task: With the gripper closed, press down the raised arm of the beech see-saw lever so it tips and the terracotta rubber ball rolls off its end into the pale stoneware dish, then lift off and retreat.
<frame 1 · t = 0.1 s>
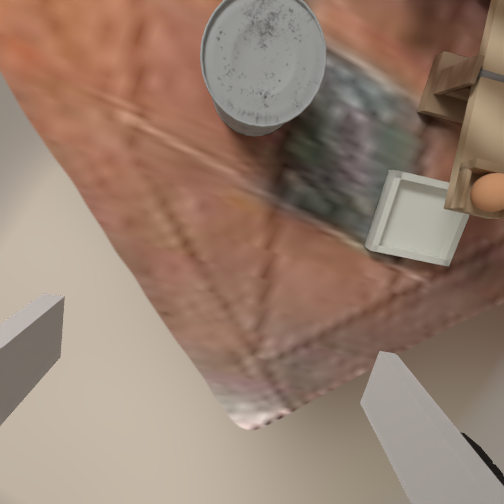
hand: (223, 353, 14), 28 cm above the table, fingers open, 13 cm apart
grey metal can: (254, 91, 37), on the table
fulcrum: (459, 93, 37), on the table
dish: (415, 217, 41), on the table
ball: (493, 192, 30), point 11 cm above the table, touching lever
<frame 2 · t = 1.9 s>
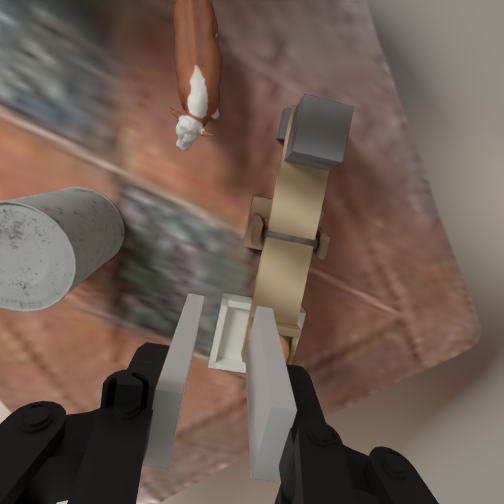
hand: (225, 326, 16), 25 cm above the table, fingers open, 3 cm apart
grey metal can: (83, 227, 39), on the table
bull figurine: (202, 87, 35), on the table
fulcrum: (281, 226, 39), on the table
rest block: (305, 131, 37), on the table
dish: (255, 332, 43), on the table
ball: (271, 350, 32), point 11 cm above the table, touching lever
lever: (293, 238, 32), point 8 cm above the table, hinge at -12.8°, touching ball
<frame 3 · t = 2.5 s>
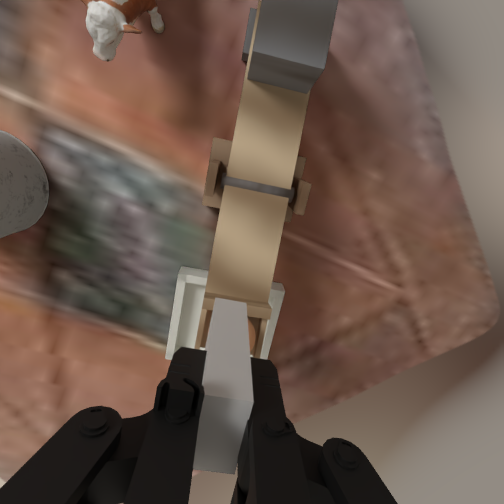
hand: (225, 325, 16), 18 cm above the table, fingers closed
fulcrum: (252, 180, 31), on the table
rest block: (279, 49, 28), on the table
dish: (224, 316, 35), on the table
ball: (231, 336, 24), point 11 cm above the table, touching lever
lever: (260, 185, 23), point 8 cm above the table, hinge at -12.8°, touching ball
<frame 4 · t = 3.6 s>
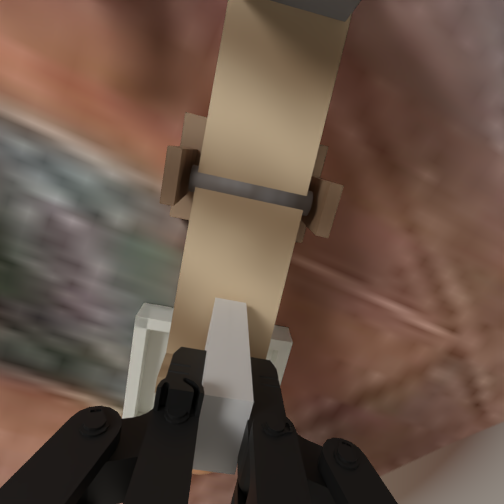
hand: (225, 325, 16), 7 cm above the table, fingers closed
fulcrum: (246, 179, 21), on the table
dish: (205, 371, 25), on the table
lever: (254, 193, 13), point 8 cm above the table, hinge at -4.2°, touching ball, gripper
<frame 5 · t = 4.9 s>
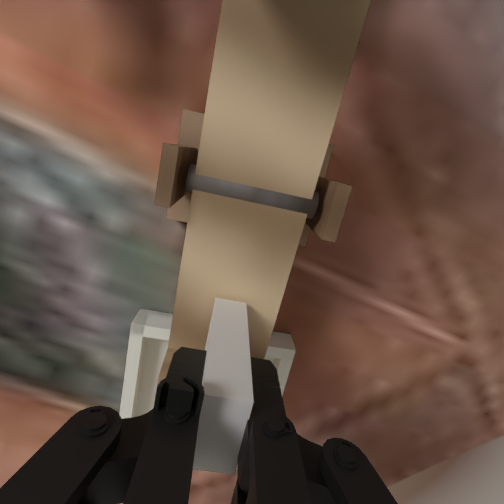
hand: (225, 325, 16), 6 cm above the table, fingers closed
fulcrum: (247, 180, 20), on the table
dish: (205, 379, 24), on the table
lever: (254, 202, 12), point 8 cm above the table, hinge at 5.4°, touching gripper
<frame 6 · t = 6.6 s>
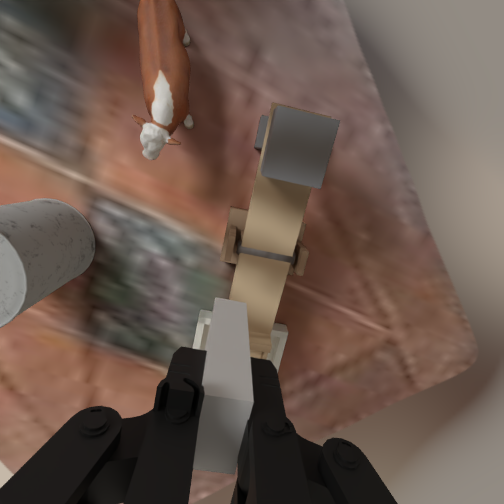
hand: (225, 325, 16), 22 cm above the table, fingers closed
grey metal can: (53, 240, 37), on the table
bull figurine: (175, 94, 33), on the table
fulcrum: (261, 239, 37), on the table
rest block: (284, 140, 35), on the table
dish: (235, 352, 41), on the table
lever: (266, 260, 30), point 8 cm above the table, hinge at 5.4°
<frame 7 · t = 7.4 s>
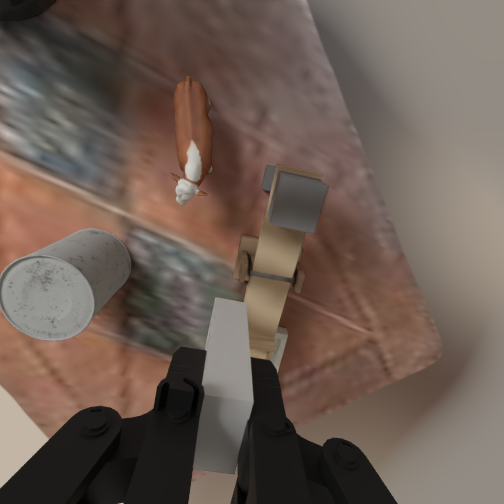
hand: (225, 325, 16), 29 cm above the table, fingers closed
grey metal can: (96, 261, 45), on the table
bull figurine: (198, 145, 41), on the table
fulcrum: (266, 260, 46), on the table
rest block: (285, 181, 43), on the table
dish: (244, 350, 50), on the table
lever: (272, 282, 38), point 8 cm above the table, hinge at 5.4°
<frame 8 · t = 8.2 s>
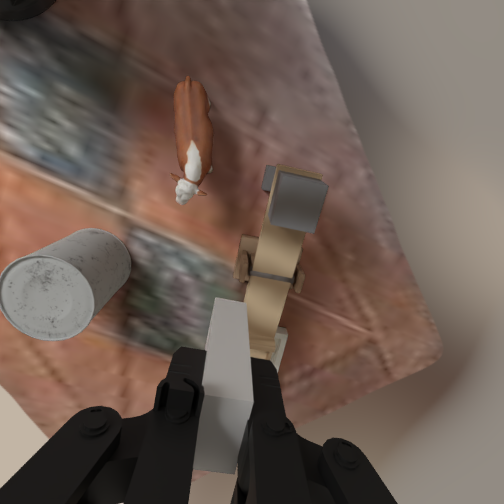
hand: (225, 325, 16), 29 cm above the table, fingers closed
grey metal can: (96, 261, 45), on the table
bull figurine: (198, 145, 41), on the table
fulcrum: (266, 260, 46), on the table
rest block: (285, 181, 43), on the table
dish: (244, 350, 50), on the table
lever: (272, 282, 38), point 8 cm above the table, hinge at 5.4°
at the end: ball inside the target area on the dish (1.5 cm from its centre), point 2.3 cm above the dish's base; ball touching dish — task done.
